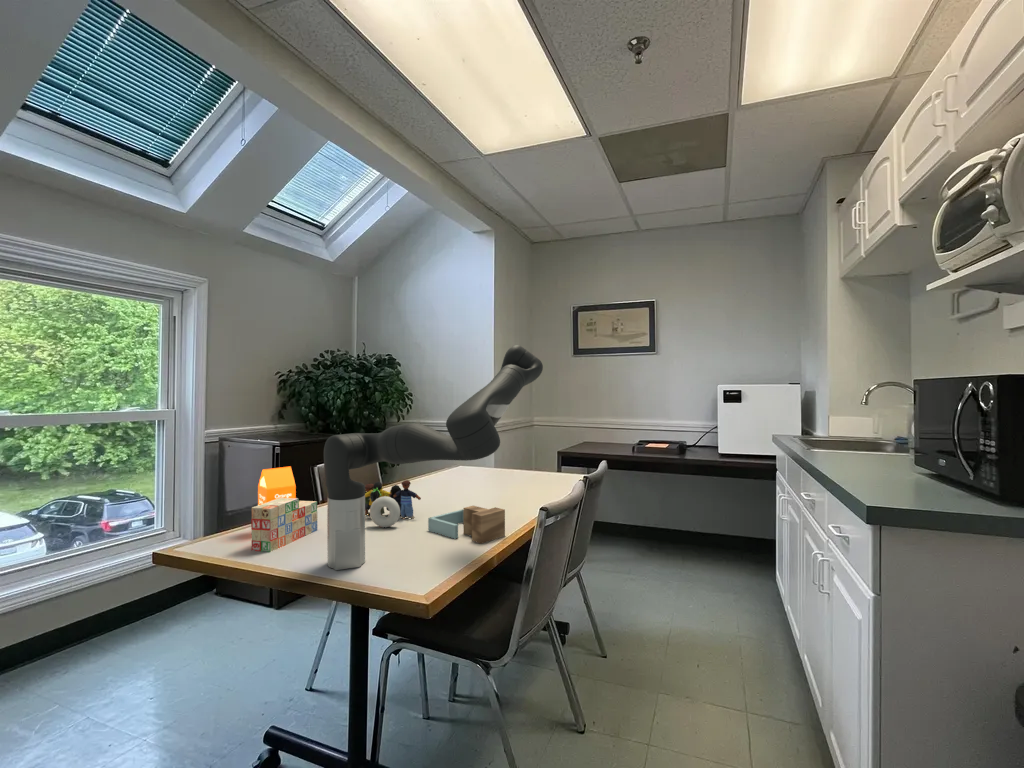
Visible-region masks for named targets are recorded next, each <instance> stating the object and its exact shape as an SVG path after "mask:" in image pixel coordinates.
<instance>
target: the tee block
mask: <svg viewBox="0 0 1024 768" xmlns="http://www.w3.org/2000/svg"><path fill="white" fill-rule="evenodd" d="M462 524H463V528H462V529H463V535H466V534H467V536H469V535H471V536H470V537H471V541H472V542H474V541H475V543H477V544H485V543H487V542H488V543H489V542H491V541H494V540H497V539H499V538H502V537H505V536H506V509H504V508H500V507H492V508H487V507H486V508H485V507H481V506H477V505H469V506H466V507H463V523H462Z"/></svg>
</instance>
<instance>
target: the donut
mask: <svg viewBox="0 0 1024 768" xmlns="http://www.w3.org/2000/svg"><path fill="white" fill-rule="evenodd" d="M382 507H384V508H386V507H387V508H388V509H389V513H388V516H387V515H386V516H385V515H384V516H382V515H383V514H382V515H381V512H380V511H381V508H382ZM369 512H370V515H369V516H370V519H371V521H372V522H373V523H374V525H377V526H378V527H380V528H384V527H385V528H390V527H391V526H394V525H395V524H396V523H397V522H398V520H399V519H400V517H401V516H400V507H399V505H398V503H397V502H396V501H395V500H394V499H393V498H391V497H387V496H384V497H379V498H378V499H376V500H375V501H374V502H373V503H372V505H371V507H370V509H369Z"/></svg>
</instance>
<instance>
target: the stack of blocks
mask: <svg viewBox="0 0 1024 768" xmlns="http://www.w3.org/2000/svg"><path fill="white" fill-rule="evenodd" d="M299 499H300V498H298V497H296V498H278V499H276V500H272V501H269V502H267V503H264V504H261V505H258V504H257V505H255V506H252V507H251V521H250V522H251V524H250V526H251V551H252V550H255V551H254V552H263V551H267V552H266V553H272V552H273V550H274V551H277V550H278V548H279V549H280V547H281V548H282V546H283V547H285V546H287V545H289V544H292V543H293V542H295V541H297V540H299V539H302V538H303V537H306V536H308V535H310V534H311V533H314V532H316V531H318V501H315V500H314V501H313V500H299ZM305 535H306V536H305ZM271 551H272V552H271Z"/></svg>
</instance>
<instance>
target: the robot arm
mask: <svg viewBox="0 0 1024 768" xmlns="http://www.w3.org/2000/svg"><path fill="white" fill-rule="evenodd" d="M543 369H544V366H543V362H542V361H541V360H540V359H539V358H538V357H537V356H535V355H534V354H532V352H530V351H528V350H527V349H526V348H525V347H523V346H522V345H519V344H516V345H512V346H510V347H509V349H508V350H507V351H506V352H505V355H504V357H503V361H502V363H501V367H500V370H499V371H498V373H496V375H495V376H494V377H493V378H492V380H490V382H488V384H486V385H485V386H483V388H480V389H479V390H478V391H477V392H475V393H474V394H473V395H471V396H470V397H469V398H468V399H466V400H465V401H464V402H463V403H462V404H460V405H459V406H457V407H456V408H455V409H454V410H453V411H452V412H451V413H450V414H449V416H448V417H447V418H446V421H445V426H446V429H447V432H448V434H449V435H447V434H446V433H442V432H440V431H438V430H436V429H434V428H431V427H429V426H428V425H427V426H426V425H424V424H421V423H417V422H409V423H404V424H398V425H394V426H391V427H388V428H386V429H385V430H383V431H381V432H378V433H377V432H376V433H365V432H364V433H363V432H362V433H361V432H353V433H343V434H335V435H334V434H333V435H331V436H328V438H327V439H326V441H325V442H324V443H325V444H324V447H323V466H324V467H323V469H324V484H325V489H326V493H327V515H326V516H327V519H326V520H327V524H326V525H327V535H326V536H327V537H326V538H327V545H326V546H327V548H326V549H327V566H328V568H330V569H334V571H339V570H340V571H341V570H346V569H348V570H349V569H355V568H360V567H362V565H363V564H364V563H365V562H366V516H365V491H366V489H365V486H366V485H365V484H364V483H363V482H360V481H355V480H352V479H351V476H350V470H354V469H360V468H363V467H366V466H370V465H373V464H378V463H381V462H384V463H385V462H386V463H389V464H391V465H392V464H393V465H404V464H415V463H420V462H429V461H430V462H431V461H475V460H477V461H478V460H481V459H484V458H487V457H489V456H491V455H492V454H495V453H496V452H497V451H498V449H499V447H500V445H501V439H500V438H501V437H500V435H499V432H498V430H497V427H496V425H497V423H498V422H499V421H500V420H501V418H502V417H503V416H504V414H505V413H506V411H507V410H508V408H510V407H509V406H510V405H511V403H512V402H513V401H514V399H515V398H516V397H518V395H519V393H520V392H521V391H522V390H523V388H524V387H525V386H527V385H529V384H531V383H533V382H535V381H536V380H537V379H538V378H539V377H540V376H541V374H542V372H543Z"/></svg>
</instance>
